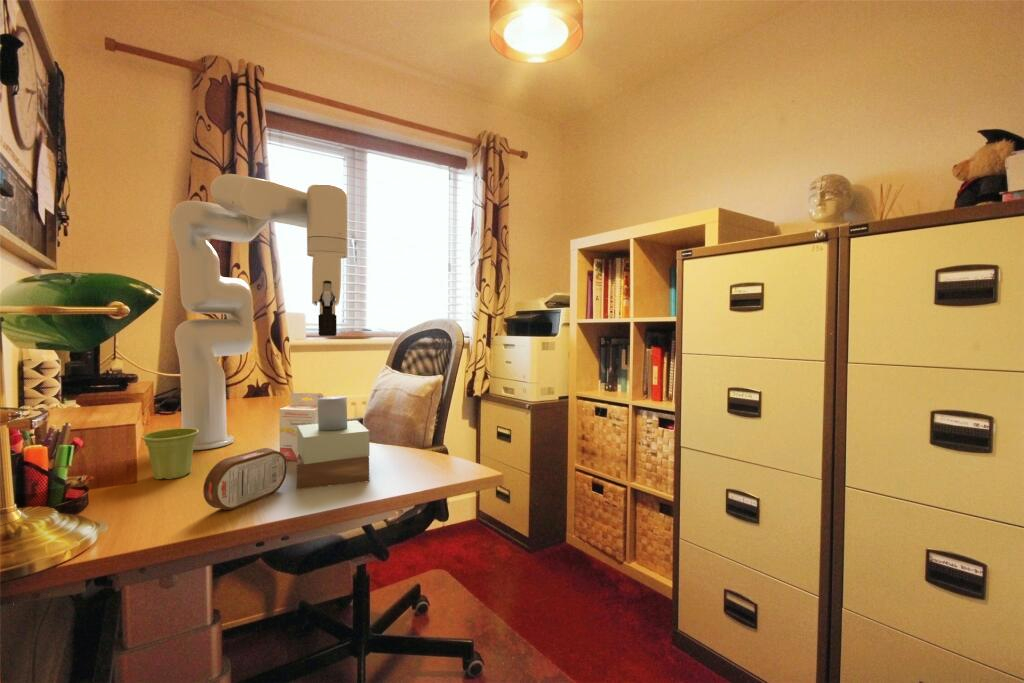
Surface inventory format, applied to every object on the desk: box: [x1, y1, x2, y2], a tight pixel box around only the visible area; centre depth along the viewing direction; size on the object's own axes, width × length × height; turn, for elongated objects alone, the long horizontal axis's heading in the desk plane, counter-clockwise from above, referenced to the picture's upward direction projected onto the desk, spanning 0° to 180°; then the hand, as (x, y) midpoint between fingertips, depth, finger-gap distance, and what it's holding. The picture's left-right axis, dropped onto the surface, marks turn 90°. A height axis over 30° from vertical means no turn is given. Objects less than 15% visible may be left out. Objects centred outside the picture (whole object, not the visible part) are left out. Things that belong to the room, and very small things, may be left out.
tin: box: [202, 447, 288, 511], centre depth 85 cm, size 15×3×8 cm, turn 159°
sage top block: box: [297, 419, 370, 464], centre depth 99 cm, size 12×12×5 cm
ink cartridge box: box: [279, 392, 324, 462], centre depth 111 cm, size 9×5×15 cm, turn 84°
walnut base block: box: [296, 454, 370, 490], centre depth 99 cm, size 13×13×5 cm
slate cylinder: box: [318, 396, 348, 431], centre depth 98 cm, size 6×6×6 cm
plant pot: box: [141, 427, 199, 480], centre depth 99 cm, size 9×9×9 cm
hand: (328, 335), depth 98 cm, fingers open, 9 cm apart
